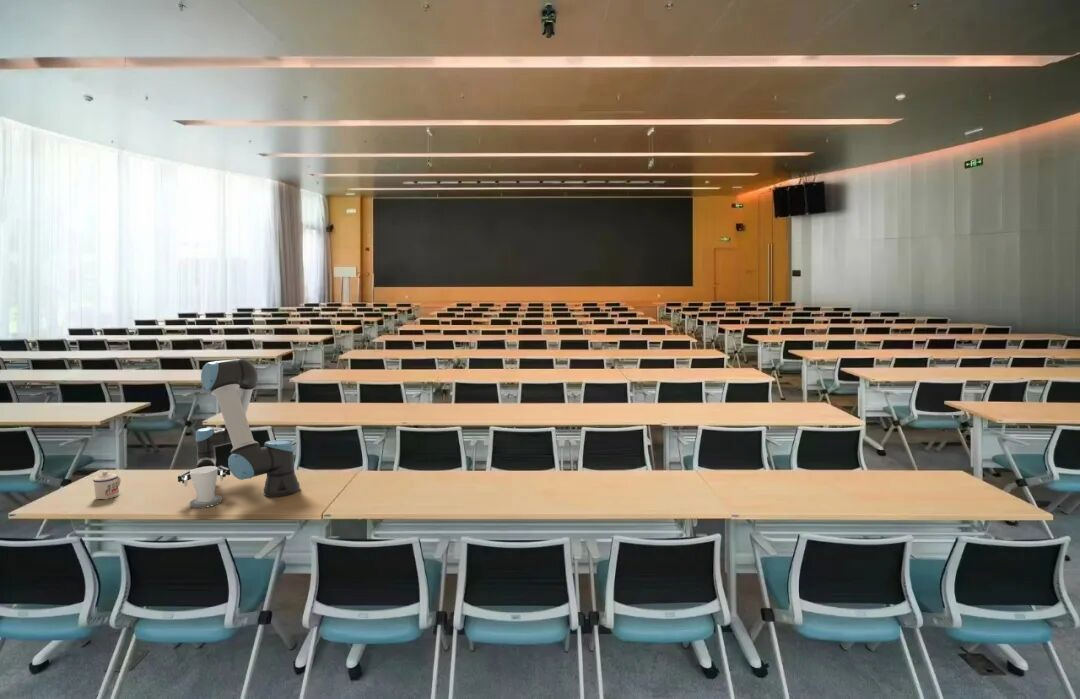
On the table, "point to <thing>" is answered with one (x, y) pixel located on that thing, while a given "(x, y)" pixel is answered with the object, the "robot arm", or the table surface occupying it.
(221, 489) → the table surface
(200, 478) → the cup
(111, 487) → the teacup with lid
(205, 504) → the plate
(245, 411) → the robot arm
